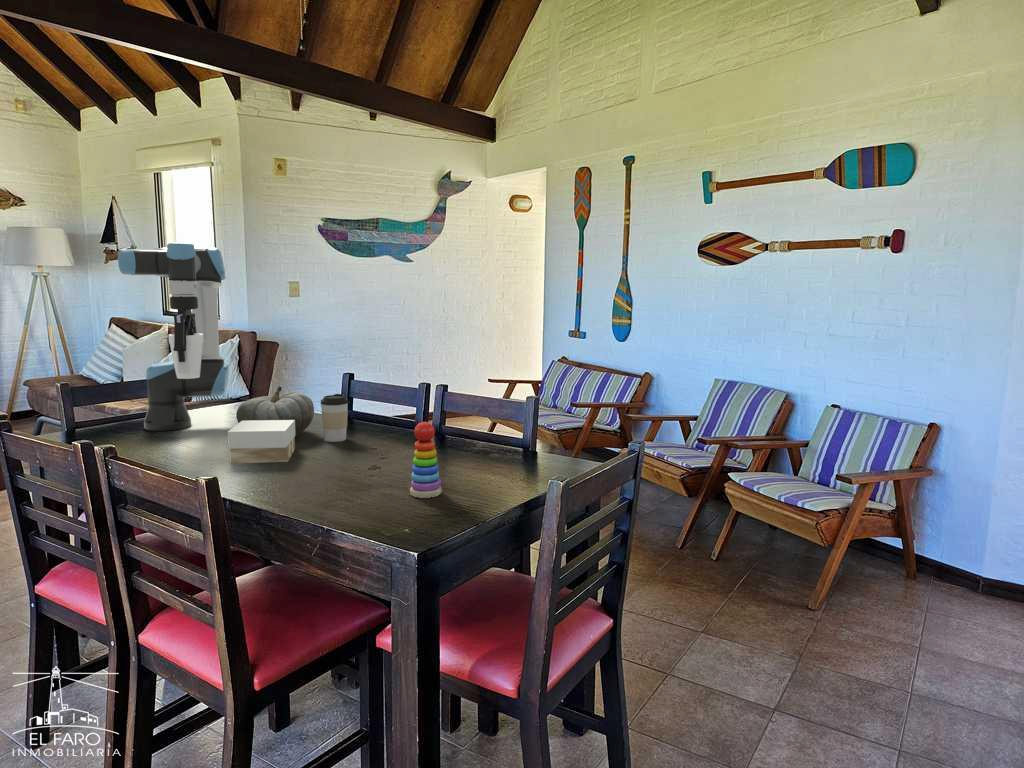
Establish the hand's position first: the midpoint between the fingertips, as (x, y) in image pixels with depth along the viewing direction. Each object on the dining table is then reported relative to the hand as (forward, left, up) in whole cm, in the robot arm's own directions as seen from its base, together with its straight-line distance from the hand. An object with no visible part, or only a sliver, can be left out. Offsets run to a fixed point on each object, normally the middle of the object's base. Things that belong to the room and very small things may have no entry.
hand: (188, 370), depth 208 cm
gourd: (-20, +22, -26) cm, 39 cm away
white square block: (+7, +22, -21) cm, 31 cm away
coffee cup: (-12, +42, -26) cm, 51 cm away
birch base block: (+7, +22, -26) cm, 35 cm away
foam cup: (0, 0, -2) cm, 2 cm away
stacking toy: (+52, +68, -26) cm, 89 cm away
